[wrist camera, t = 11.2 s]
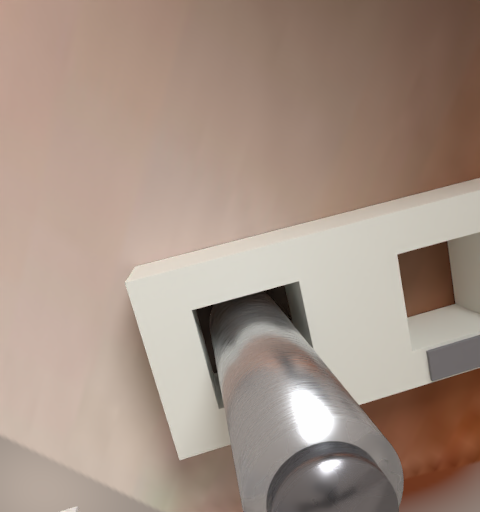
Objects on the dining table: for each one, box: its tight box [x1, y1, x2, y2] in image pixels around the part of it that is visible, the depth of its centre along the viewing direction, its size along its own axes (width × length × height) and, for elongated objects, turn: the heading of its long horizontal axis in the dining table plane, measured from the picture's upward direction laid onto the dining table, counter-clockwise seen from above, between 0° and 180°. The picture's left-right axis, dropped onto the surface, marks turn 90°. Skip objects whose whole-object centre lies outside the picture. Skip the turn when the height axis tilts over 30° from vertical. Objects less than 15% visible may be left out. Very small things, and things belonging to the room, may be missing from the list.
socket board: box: [125, 178, 480, 460], centre depth 22 cm, size 10×22×4 cm, turn 104°
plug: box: [209, 291, 404, 512], centre depth 17 cm, size 4×4×15 cm
